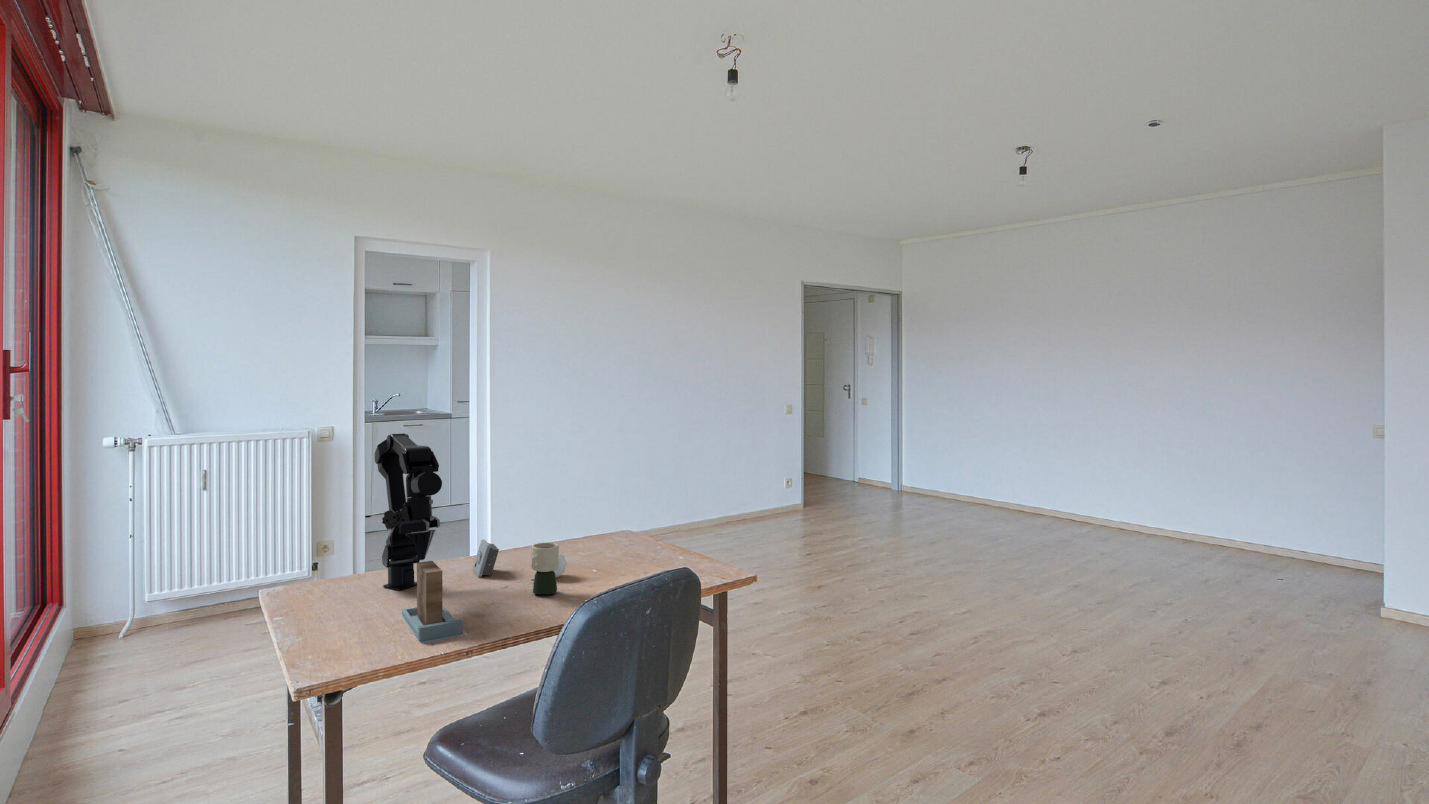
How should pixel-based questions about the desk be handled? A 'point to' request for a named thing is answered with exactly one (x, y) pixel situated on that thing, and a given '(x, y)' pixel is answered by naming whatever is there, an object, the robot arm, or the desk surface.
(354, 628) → the desk surface
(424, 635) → the slot base
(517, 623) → the desk surface
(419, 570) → the brown wooden block
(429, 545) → the robot arm
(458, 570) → the desk surface
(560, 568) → the geometric ball
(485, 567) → the electrical switch
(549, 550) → the character mug
